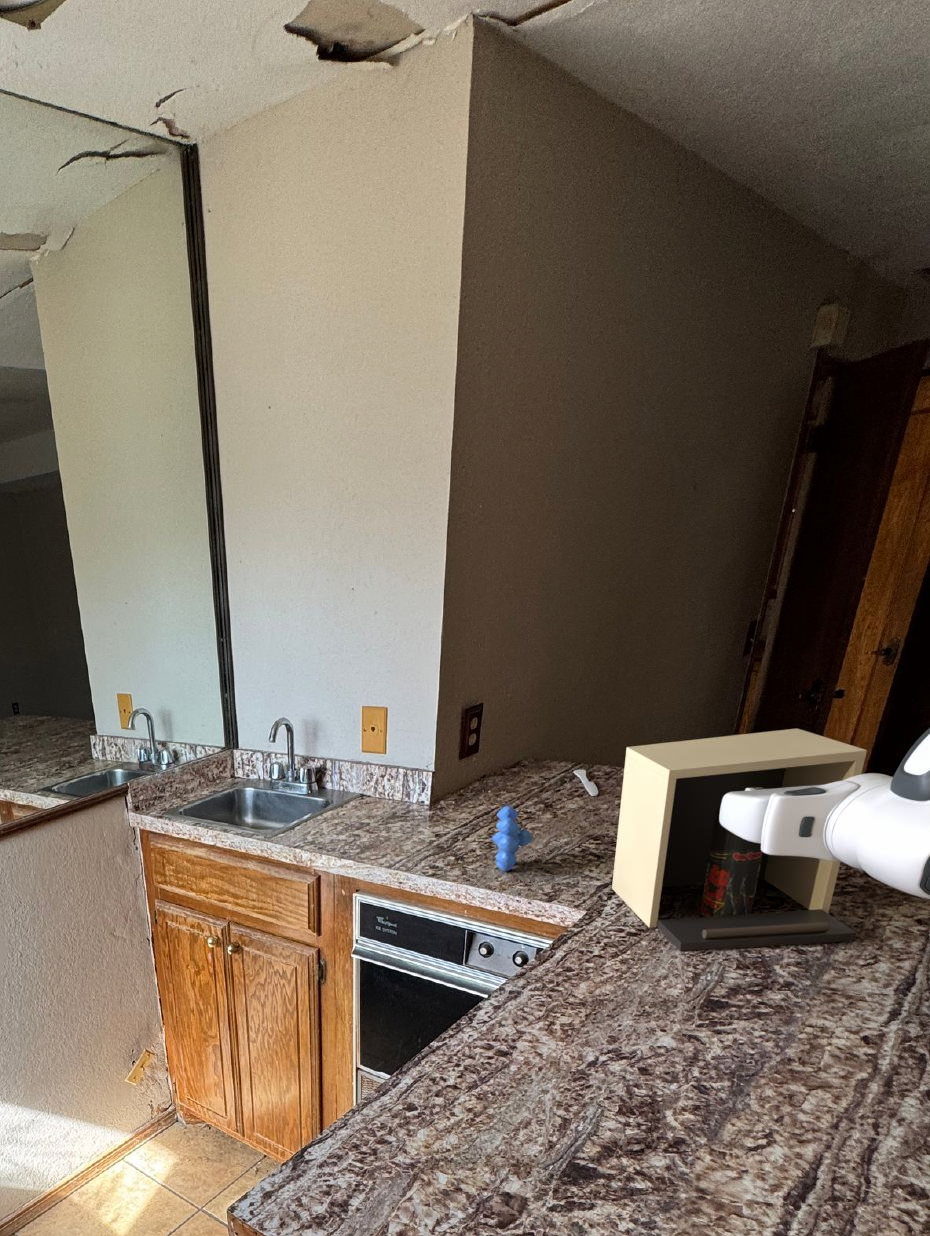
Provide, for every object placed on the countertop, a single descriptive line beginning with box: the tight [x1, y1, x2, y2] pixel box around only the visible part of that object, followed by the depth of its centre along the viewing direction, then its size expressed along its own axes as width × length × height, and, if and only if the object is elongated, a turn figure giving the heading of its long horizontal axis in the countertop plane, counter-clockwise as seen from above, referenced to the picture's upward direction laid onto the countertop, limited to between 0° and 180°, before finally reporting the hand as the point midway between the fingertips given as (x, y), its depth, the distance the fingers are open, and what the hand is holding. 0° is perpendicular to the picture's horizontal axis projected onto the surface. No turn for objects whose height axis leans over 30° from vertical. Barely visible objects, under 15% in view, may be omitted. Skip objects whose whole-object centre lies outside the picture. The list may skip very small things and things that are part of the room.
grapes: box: [491, 805, 535, 872], centre depth 134 cm, size 12×7×12 cm, turn 161°
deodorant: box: [699, 806, 763, 917], centre depth 107 cm, size 6×6×15 cm
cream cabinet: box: [611, 728, 868, 952], centre depth 106 cm, size 22×24×22 cm
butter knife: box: [573, 769, 599, 797], centre depth 178 cm, size 1×24×3 cm
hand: (796, 790), depth 92 cm, fingers open, 8 cm apart
